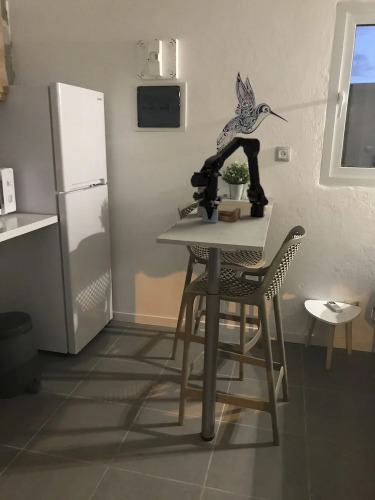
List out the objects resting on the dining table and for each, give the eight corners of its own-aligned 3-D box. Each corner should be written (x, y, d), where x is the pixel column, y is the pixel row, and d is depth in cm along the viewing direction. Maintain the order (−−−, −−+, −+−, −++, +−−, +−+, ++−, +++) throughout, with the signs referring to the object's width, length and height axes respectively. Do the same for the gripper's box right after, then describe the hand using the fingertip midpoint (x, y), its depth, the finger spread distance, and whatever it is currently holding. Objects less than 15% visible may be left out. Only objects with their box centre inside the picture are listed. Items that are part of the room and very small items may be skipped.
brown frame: (240, 218, 201) (240, 208, 199) (235, 221, 192) (236, 211, 190) (213, 215, 205) (213, 205, 204) (207, 219, 196) (208, 209, 195)
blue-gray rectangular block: (217, 222, 190) (218, 209, 188) (216, 222, 188) (217, 210, 186) (203, 220, 192) (204, 208, 190) (202, 221, 190) (202, 209, 188)
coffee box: (199, 212, 212) (200, 182, 207) (211, 213, 211) (213, 183, 206) (196, 215, 203) (197, 184, 199) (209, 216, 202) (210, 185, 197)
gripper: (201, 183, 196) (200, 214, 200) (188, 187, 179) (187, 221, 184) (223, 184, 193) (221, 216, 197) (212, 189, 176) (210, 223, 180)
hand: (210, 219), depth 189 cm, fingers closed on blue-gray rectangular block, 2 cm apart
